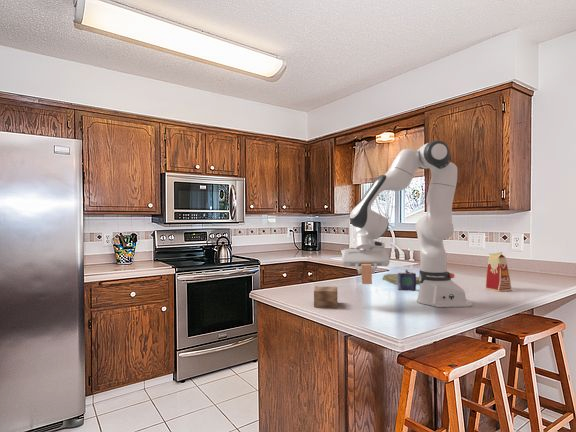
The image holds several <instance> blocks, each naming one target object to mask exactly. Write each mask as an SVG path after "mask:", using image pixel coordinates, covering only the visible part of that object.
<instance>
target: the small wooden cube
mask: <svg viewBox="0 0 576 432" xmlns="http://www.w3.org/2000/svg"><path fill="white" fill-rule="evenodd" d="M313 307H314V308H326V309H327V308H328V309H331V308H332V309H337V308H338V287H337V286H319V285H318V286H314V289H313Z"/></svg>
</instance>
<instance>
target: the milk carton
mask: <svg viewBox="0 0 576 432" xmlns="http://www.w3.org/2000/svg"><path fill="white" fill-rule="evenodd" d="M488 255H489V256H488V261H487V268H486V276H485V277H486V279H485V290H489V291H494V292H498V293H500V292H508V291H509V292H510V291H512V290H513V289H512V284H511V283H512V282H511V278H510V277H511V276H510V272H509V266H508V263H507V262H508V261H507V259H506V256H505V255H504V254H503V252H502V251H500V252H495V253H488Z"/></svg>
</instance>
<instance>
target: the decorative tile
mask: <svg viewBox="0 0 576 432" xmlns="http://www.w3.org/2000/svg"><path fill="white" fill-rule="evenodd" d="M382 280H383V281H387V282H389V284H390V283H391V284H393V285H395V286H398V273H393V274H391V273H389V274H384V275H383V276H382ZM416 285H420V281H419V276H416Z"/></svg>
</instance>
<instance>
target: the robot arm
mask: <svg viewBox="0 0 576 432" xmlns="http://www.w3.org/2000/svg"><path fill="white" fill-rule="evenodd" d="M450 153H451V152H450V148H449V146H448V144H447V143H446V142H444V141H442V140H433V141H429V142H427V143H425V144H423V145H422V146H420V147H419V148H418V147H417V149H416V150H414V149H412V148H403V149H401V150H400V151H399V153H398V154H397V155H396V157H395V158H394V160H393V161H392V164H391V165H390V167H389V169H388V170H387V171H386V172H385V173H384V174H381V175H379V176H377V177H376V179H375V180H374V181H373V182H372V183H371V185H370V186H369V188H368V189H367V190H366V191H365V194H363V196H362V198H361V199H360V201H359V202H358V203H357V204H355V206H354V207H353V208H352V210H351V211H350V213H349V221H350V224H351V225H352V226H353V238H354V241H353V245H354V247H344V248H343V249H342V250H341V252H340V254H341V256H342V260H341V261H342V266H343V267H346V268H347V267H355V270H357V273H358V275H362V269H361V268H360V267H361V264H371V266H372V275H375V273H376V270H377V267H388V266H389V265H390V260H391V259H390V257H389V256H390V255H389V253H388V250H387V249H386V247H385V243H384V242H382V241H377V239H379V238H381V237H383V236H384V235H386V234H387V232H388V231H389V226H390V223H389V219H388V218H387V217H386V216H385V215H382V214H380V213H378V212H376V211H375V210H373V209H371V206H372V204H373V203H374V201H376V199H377V198H378V196H379V194H381V193H382V192H384V191H390V192H391V191H393V192H399V191H400V192H401V191H403V190H406V189H407V188H408V187H409V186H410V184H411V182H412V180H413V178H414V176H415V175H416V171H418V170H419V169H421V170H428V169H429V170H430V175H431V176H430V177H431V178H430V180H429V185H428V191H427V194H426V200H425V201H426V202H425V203H426V215H425V216H422V217H420V218H419V219H418V220H417V221H416V223H415V228H414V229H415V232H416V233H417V241H418V245H419V246H418V247H419V254H420V255H419V259H420V260H419V261H420V263H419V264H420V270H419V273H418V277H419V281H420V284H419V287H418V288H419V289H418V293H417V294H418V295H417V298H416V302H418V303H419V304H422V305H429V306H432V307H437V308H460V307H461V308H463V307H465V308H466V307H472V306H473V304H472V302H471V301H470V300H469V299H467V297H466V292H465V290H464V289H463V288H462V287H461V286H460V285H458V284H457V283H456V282H454V281H453V280H452V279H454V278H455V274H454V273H452V272H449V271H448V270H447V265H448V264H447V263H448V261H447V257H448V256H447V252H446V249H445V246H444V245H445V244H444V241H445V240H447V239H449V238H451V236H453V234H454V229H455V226H454V224H453V204H454V203H453V202H454V197H455V193H456V189H457V184H458V183H457V182H458V166H457V165H456V164H455V163H454V162H451V161H452V157H451V155H450Z"/></svg>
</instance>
